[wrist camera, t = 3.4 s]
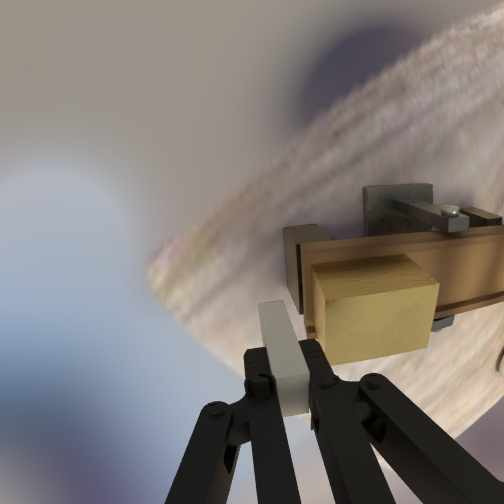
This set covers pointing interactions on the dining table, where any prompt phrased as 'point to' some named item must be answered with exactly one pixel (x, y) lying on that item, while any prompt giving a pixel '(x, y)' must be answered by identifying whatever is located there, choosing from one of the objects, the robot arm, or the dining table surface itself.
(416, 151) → the dining table surface
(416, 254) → the beam
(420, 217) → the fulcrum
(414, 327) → the block
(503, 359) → the flower in vase
